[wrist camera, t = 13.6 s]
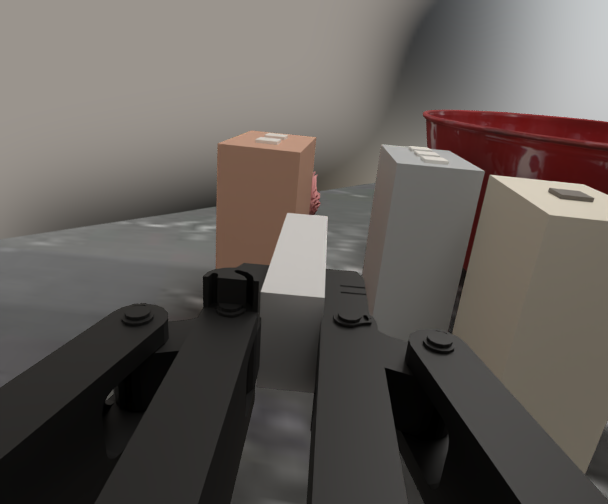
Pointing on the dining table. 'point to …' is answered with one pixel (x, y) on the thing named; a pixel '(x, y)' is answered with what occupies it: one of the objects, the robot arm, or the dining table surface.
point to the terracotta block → (259, 193)
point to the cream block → (543, 304)
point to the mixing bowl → (522, 148)
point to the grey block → (418, 237)
